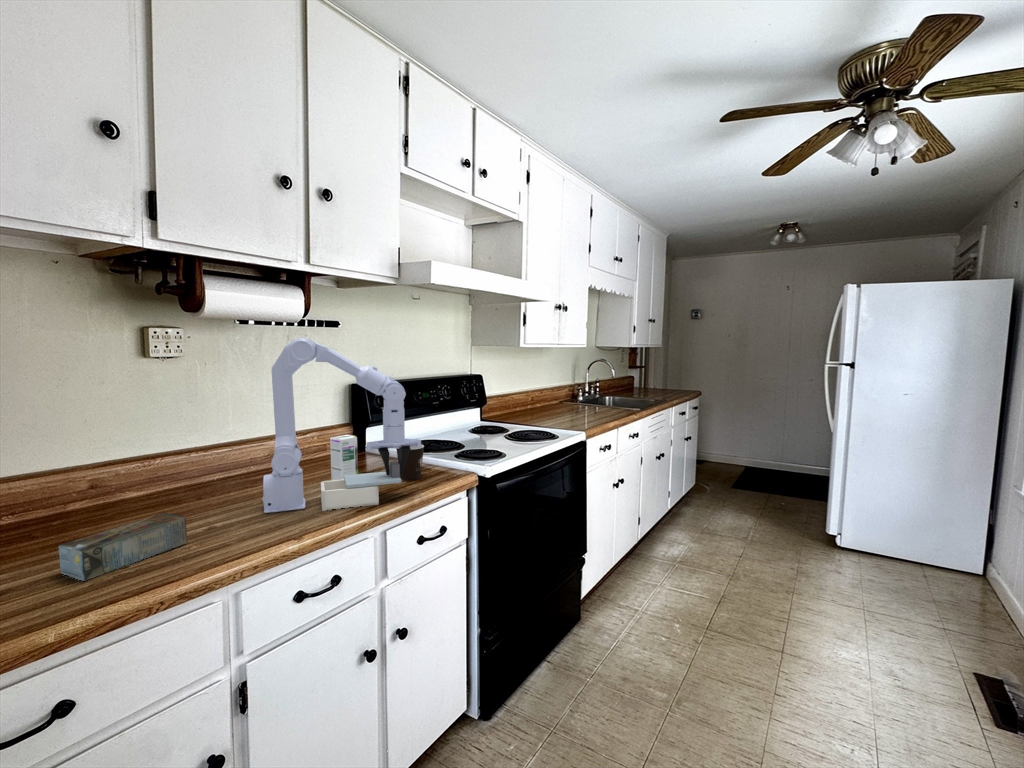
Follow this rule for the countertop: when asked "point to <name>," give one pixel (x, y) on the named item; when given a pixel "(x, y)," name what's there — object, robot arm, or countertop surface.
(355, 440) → the syrup box
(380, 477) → the carton lid
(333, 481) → the carton
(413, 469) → the coffee mug
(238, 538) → the countertop surface
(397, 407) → the robot arm
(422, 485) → the countertop surface
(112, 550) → the beverage carton
